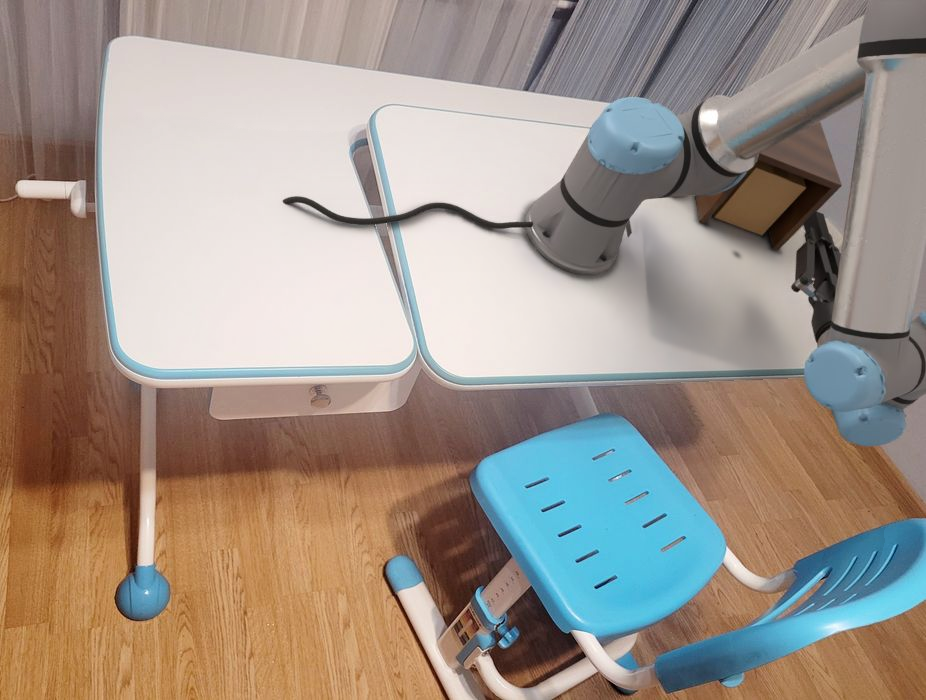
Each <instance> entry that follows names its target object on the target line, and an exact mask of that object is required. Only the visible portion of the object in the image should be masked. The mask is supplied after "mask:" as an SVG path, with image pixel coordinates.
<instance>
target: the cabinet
mask: <svg viewBox="0 0 926 700" xmlns="http://www.w3.org/2000/svg"><path fill="white" fill-rule="evenodd" d="M744 89H745V88H741V89H740V90H739V92H740V91H742V90H744ZM758 160H760V161H763V162H765V163H768V164H770V165H773V166H775V167H778V168H781V169H783V170H786V171H788V172H791V173H793V174H796V175H798V176H801V177H803V178H804V181H805V184H806V189H805V190H804V191H803V192H802V193H801V194H800V195H799V196H798V197H797V198H796V199H795V201H794V202H793V203H792V204H791V205H790V206H789V207H788V208H787V209H786V210H785V211H784V212H783V213H782V214H781V215H780V217H779V218H778V219H777V220H776V221H775V222H774V223H773V224H772V225H771V226H770V227H769V228H768V229H767V231H768V234H769V239H770V242H771V249H772V250H774V251H778V252H779V250H781V249H782V247H783V246H784V245H786V243H788V241H789V240H791V239H792V237H794V235H795V234H796V233H797V232H799V230H800V229H801V228H803V227H804V224H803V223H804V222H805V221H806V220H807V219H808V218H809V217H810V216H811V215H812V214H813V213H814V212H815V211H817V212H819V210H820V209H821V208H822V207H823V206H824V205H825V204H826V203H827V202H828V201H829V200H830V199H831V198H832V196H834V195H835V193H836V192H837V191H838V190H840V188H841V187H842V186H843V185H842V182H841V178H840V176H839V173H838V170H837V167H836V165H835V161H834V158H833V155H832V152H831V149H830V146H829V143H828V140H827V138H826V135H825V132H824V128H823V126H822V123H821V121H820V122H818V123H816V124H814V125H812V126H810V127H808V128H806V129H804V130H802V131H801V132H799V133H797V134H795V135H793V136H791V137H789V138H787V139H785V140H783V141H781V142H779V143H777V144H775V145H774V146H772V147H770V148H768V149H766V150H764V151H762V152H760V153H759V156H758V159H757V161H758ZM750 170H751V169H750ZM750 170H748V171H746V174H747V173H748V172H749V171H750ZM746 174H745V176H746ZM745 176H744V177H745ZM744 177H743V178H744ZM743 178H742V179H743ZM742 179H741V180H742ZM741 180H740V181H739V182H738V183H737V184H736V185H735V186H733V187H732V188H730V189H728V190H726V191H723V192H720V193H717V194H714V195H709V196H707V195H706V196H695V201H696V202H695V203H696V209H697V216H698V222H699V223H701V224H704V225H706V224H707V223H708V221H709V220H710V218H712V216H714V213H715V211H716V210H717V209H718V208H719V207H720V205H721V204H722V203H723V202H724V201H725V199H726V198H727V197H728V196H729V195H730V193H731V192H732V191H733V190H734V189H735V188H736V186H737V185H738V184H739V183H740V182H741Z"/></svg>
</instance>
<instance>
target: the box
mask: <svg viewBox="0 0 926 700" xmlns="http://www.w3.org/2000/svg"><path fill="white" fill-rule="evenodd" d="M805 189H806V184H805V181H804V178H803V177H801V176H798V175H796V174H793V173H791V172H788V171H786V170H783V169H781V168H778V167H775V166H773V165H770V164H768V163H765V162H763V161H760V160H758V161H757V162H756V164H755V165H754V166H753V167H752V168H751V170H750V171H749V172H748V173H747V174H746V176H745V177H744V178H743V179H742V180H741V182H740V183H739V184H738V185H737V186H736V188H735V189H734V190H733V191H732V192H731V193H730V195H729V196H728V197H727V198H726V199H725V201H724V202H723V203H722V204H721V205H720V207H719V208H718V209H717V210H716V211H715V213H714V214H713V217H714V218H715V219H717V220H720V221H723V222H724V223H728V224H730V225H733V226H736V227H739V228H741V229H743V230H746V231H749V232H752V233H754V234H757V235H760V236H763V235H764V234H765V233H766V232H767V231H768V228H769V227H770V226H771V225H772V224H773V223H774V222H775V221H776V220H777V219H778V218H779V217H780V215H781V214H782V213H783V212H784V211H785V210H786V209H787V208H788V207H789V206H790V205H791V204H792V203H793V202H794V201H795V199H796V198H797V197H798V196H799V195H800V194H801V193H802V192H803V191H804V190H805Z"/></svg>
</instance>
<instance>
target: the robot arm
mask: <svg viewBox="0 0 926 700" xmlns="http://www.w3.org/2000/svg"><path fill="white" fill-rule="evenodd" d="M743 89H744V90H742V91H740V90H739V91H738V92H737V93H735V94H734V95H732V96H731V97H729V96H727V95H724V94H715V95H712V96H710V97H708V98H707V99H705V100H703V101H701V103H698V104H697V105H696V106H694V107H693V108H691V109H690V110H688V111H686V112H684V113H682V114H677V115H676V114H675V113H674V112H673V111H671V109H669V108H668V107H666V106H664V105H663V104H661V103H659V102H656V103H653V102H652V101H651V99H648V98H646V97H645V98H644V97H640V96H639V97H638V96H627V97H622V98H619V99H616V100H614V101H612V102H611V103H609V104H608V105H607V106H606V107H605V108H604V109H603V111H602V112H601V113H600V115H599V116H598V117H597V119H595V120H594V122H593V123H592V125H591V126H590V128H589V131H588V133H587V135H586V136H585V138H584V140H583V141H582V143H581V145H580V147H579V149H578V150H577V152H576V154H575V156H574V157H573V158H572V161H571V162H570V164H569V166H568V168H567V169H566V171H565V173H564V174H563V176H562V178H561V180H560V181H558V182H557V183H556V184H555V185H554V186H552V187H551V188H550V189H548V190H547V191H546V192H544V193H543V194H542V195H541V196H540V197H538V198H537V199H536V200H535V201H534V202H533V204H532V205H531V207H530V208H529V210H528V211H527V214H526V217H525V221H508V222H494V221H489V220H486V219H484V218H482V217H479V216H477V215H476V214H473V213H472V212H470V211H468V210H466V209H465V208H462V207H460V206H458V205H455V204H453V203H447V202H429V203H427V204H426V203H425V204H423V205H421V206H418V207H416V208H415V209H411V210H410V211H406V212H404V213H400V214H395V215H387V216H381V217H370V218H368V217H367V218H366V217H365V218H362V217H361V218H359V217H350V216H344V215H340V214H338V213H335V212H333V211H331V210H330V209H328V208H326V207H325V206H324V205H322V204H320V203H318V202H317V201H315V200H313V199H311V198H308V197H305V196H300V195H299V196H298V195H296V196H288V197H286V198H284V199H282V203H283V204H284V205H291V204H304V205H307V206H309V207H311V208H313V209H314V210H316V211H318V212H319V213H321V214H322V215H324V216H325V217H327V218H329V219H332V220H333V221H336V222H339V223H343V224H347V225H357V226H373V225H383V224H390V223H396V222H401V221H405V220H408V219H411V218H413V217H416V216H417V215H420V214H422V213H424V212H427V211H430V210H436V209H439V210H440V209H443V210H448V211H452V212H455V213H456V214H459V215H461V216H464V217H465V218H467V219H469V220H471V221H473V222H474V223H475V224H479V225H481V226H484V227H486V228H489V229H490V228H491V229H495V230H503V229H519V228H522V229H523V228H525V230H526V233H527V235H528V238H529V240H530V242H531V244H532V245H533V246H534V248H535V249H536V250H537V251H538V253H540V255H542V256H543V257H544V258H545V259H546V260H547V261H549V262H550V263H551V264H553V265H554V266H557V267H558V268H560V269H562V270H565V271H567V272H570V273H573V274H577V275H583V276H593V275H598V274H601V273H604V272H605V271H607V270H608V269H609V268H610V267H611V266H612V264H613V263H614V262H615V260H616V259H617V257H618V255H619V252H620V248H621V245H622V242H623V238H624V235H625V232H626V236H627V238H629V237H630V236H631V234H632V233H633V232H632V227H631V221H630V219H631V218H632V217H633V215H634V214H635V212H636V211H638V209H639V207H640V206H641V204H642V203H643V202H644V201H646V200H655V199H664V198H665V199H666V198H667V199H668V198H678V197H691V196H692V197H693V196H695V197H696V196H706V195H707V196H709V195H714V194H717V193H720V192H723V191H726V190H728V189H730V188H732V187H733V186H735V185H736V184H737V183H738V182H739V181H740V180H741V179H742V178H743V177H744V176H745V174H746V171H748V170H750V169H751V168H752V167H753V166H754V165H755V164H756V162H757V159H758V156H759V153H760V152H762V151H764V150H766V149H768V148H770V147H772V146H774V145H775V144H777V143H779V142H781V141H783V140H785V139H787V138H789V137H791V136H793V135H795V134H797V133H799V132H801V131H802V130H804V129H806V128H808V127H810V126H812V125H814V124H816V123H818V122H820V123H821V122H822V121H824V120H825V119H827V118H830V117H831V116H833V115H835V114H837V113H839V112H841V111H843V110H845V109H847V108H849V107H850V106H853V105H855V104H856V103H858V102H860V101H862V104H861V111H860V116H859V117H860V118H859V124H858V131H857V138H856V145H855V152H854V161H853V167H852V173H851V181H850V186H849V193H848V194H849V195H848V200H847V208H846V210H847V211H846V215H845V223H844V229H843V235H842V236H843V237H842V242H841V243H842V244H841V249H839V248H838V247H837V246H836V245H835V242H834V238H833V236H832V234H830V232H829V228H828V224H827V221H826V218H825V214H824V213H822V212H819V211H815V212H814V213H813V214H812V215H811V216H810V217H809V218H808V219H807V220H806V221H805V222H804V223H803V224H804V225H803V228H804V231H805V233H804V236H803V237H804V239H805V242H804V243H803V244H802V245H801V246H800V247H798V249H797V250H796V256H795V273H794V274H795V275H794V276H795V277H794V282H793V283H792V284H791V286H790V288H791V290H792V291H793V292H794V293H799V292H800V291H801V292H802V293H803V294H805V295H806V296H807V301H808V303H809V304H810V306H811V308H812V310H813V312H812V316H811V321H810V322H811V328H812V333H813V337H814V340H815V343H816V348H815V349H814V350H813V351H812V352H811V353H810V355H809V356H808V358H807V359H806V361H805V364H804V368H803V377H804V382H805V386H806V388H807V390H808V392H809V394H810V395H811V397H812V398H813V399H814V400H815V401H816V402H817V403H818V404H820V405H821V406H822V407H824V408H826V409H829V410H830V411H831V414H832V416H833V419H834V421H835V425H836V428H837V430H838V432H839V435H840V436H841V437H842V439H844V441H846V442H848V443H850V444H853V445H854V444H855V445H857V446H861V447H877V446H882V445H887V444H890V443H892V442H894V441H896V440H899V438H901V437H902V436H903V434H904V431H905V430H906V429H907V420H906V417H907V415H906V413H905V411H904V410H905V409H906V408H907V407H910V406H911V405H913V404H914V403H915V402H917V400H918V399H920V398H921V397H923V396H924V395H926V310H925V311H921V312H920V313H919V314H918V316H917V317H915V318H914V319H913V316H914V310H915V306H916V299H917V293H918V288H919V283H920V277H921V271H922V265H923V261H924V260H923V259H924V255H925V250H926V249H925V248H926V0H867V4H866V7H865V12H864V14H863V15H861V16H860V17H857V18H856V19H855V20H853V21H851V22H850V23H848V24H846V25H845V26H843V27H842V28H840V29H838V30H837V31H835V32H834V33H832V34H830V35H829V36H827V37H826V38H824V39H822V40H820V41H819V42H818V43H816V44H814V45H812V46H811V47H810V48H808V49H806V50H804V51H803V52H802V53H800V54H799V55H797V56H795V57H793V58H792V59H790V60H789V61H787V62H786V63H783V64H782V65H780V66H779V67H777V68H775V69H774V70H772V71H771V72H770V73H768V74H766V75H765V76H763V77H761V78H760V79H758V80H756V81H755V82H753V83H752V84H750V85H748V86H747V87H745V88H743ZM625 230H626V231H625ZM840 251H841V252H840Z"/></svg>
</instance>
